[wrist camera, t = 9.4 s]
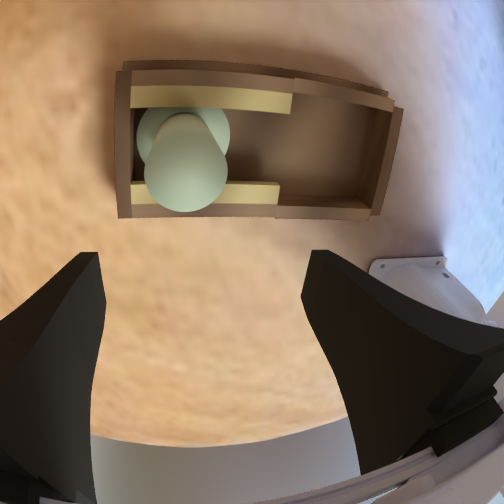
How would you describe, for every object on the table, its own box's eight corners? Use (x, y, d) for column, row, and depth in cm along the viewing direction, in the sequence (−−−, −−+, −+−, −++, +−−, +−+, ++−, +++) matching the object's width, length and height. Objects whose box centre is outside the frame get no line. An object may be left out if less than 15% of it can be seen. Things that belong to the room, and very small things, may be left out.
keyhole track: (383, 90, 18) (406, 95, 16) (358, 211, 22) (376, 227, 20) (125, 62, 14) (116, 59, 12) (124, 210, 18) (118, 228, 16)
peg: (231, 92, 16) (267, 103, 10) (224, 177, 18) (252, 238, 12) (139, 91, 15) (111, 101, 8) (138, 178, 17) (117, 241, 11)
